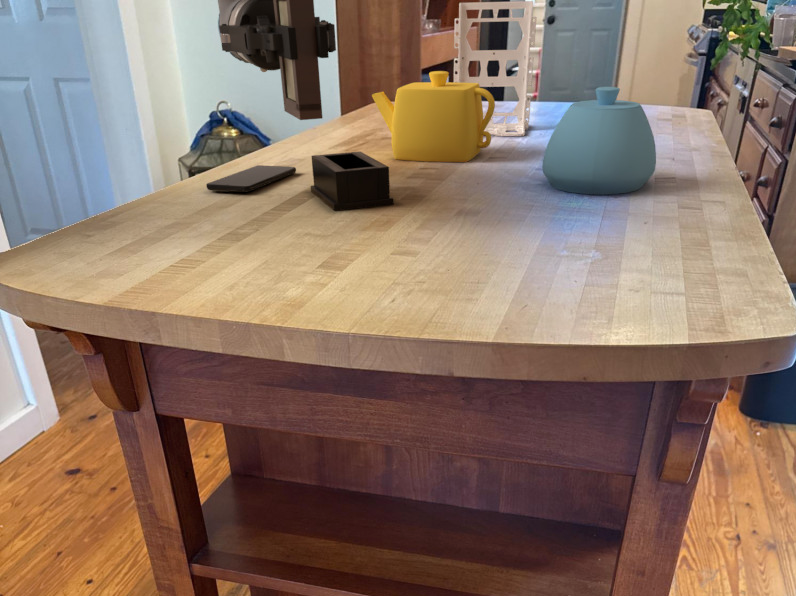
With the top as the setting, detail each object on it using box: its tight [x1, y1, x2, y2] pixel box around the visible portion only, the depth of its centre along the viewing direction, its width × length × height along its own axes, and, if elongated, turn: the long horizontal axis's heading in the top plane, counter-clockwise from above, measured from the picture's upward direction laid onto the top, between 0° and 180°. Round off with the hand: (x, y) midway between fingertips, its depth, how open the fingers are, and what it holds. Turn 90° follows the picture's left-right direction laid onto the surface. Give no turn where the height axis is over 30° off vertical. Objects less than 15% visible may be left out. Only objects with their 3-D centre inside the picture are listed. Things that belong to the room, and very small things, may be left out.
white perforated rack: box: [453, 0, 537, 137], centre depth 136 cm, size 14×14×20 cm
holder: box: [310, 151, 395, 212], centre depth 98 cm, size 12×8×4 cm, turn 20°
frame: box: [273, 0, 323, 121], centre depth 80 cm, size 8×2×12 cm, turn 19°
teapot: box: [371, 70, 496, 163], centre depth 120 cm, size 20×12×12 cm, turn 73°
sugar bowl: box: [541, 86, 657, 195], centre depth 99 cm, size 15×15×12 cm
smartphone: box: [206, 164, 297, 193], centre depth 108 cm, size 7×1×15 cm
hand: (308, 43), depth 75 cm, fingers closed on frame, 2 cm apart
